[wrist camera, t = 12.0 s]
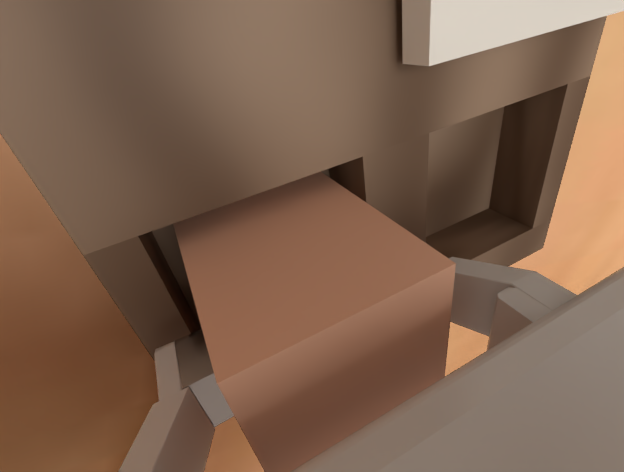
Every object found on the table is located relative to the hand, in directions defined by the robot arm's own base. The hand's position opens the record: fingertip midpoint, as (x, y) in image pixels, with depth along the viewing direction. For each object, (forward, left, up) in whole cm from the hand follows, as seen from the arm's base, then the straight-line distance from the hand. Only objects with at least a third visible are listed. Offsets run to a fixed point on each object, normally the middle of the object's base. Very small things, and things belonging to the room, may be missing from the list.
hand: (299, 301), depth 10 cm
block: (0, 0, -4) cm, 4 cm away
